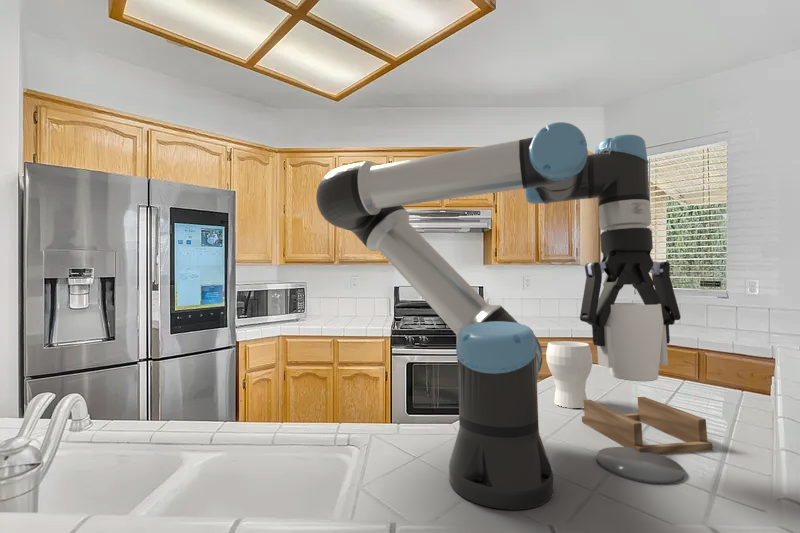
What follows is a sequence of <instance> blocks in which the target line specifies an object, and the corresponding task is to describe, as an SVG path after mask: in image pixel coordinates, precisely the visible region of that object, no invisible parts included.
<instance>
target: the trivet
mask: <svg viewBox="0 0 800 533" xmlns="http://www.w3.org/2000/svg"><path fill="white" fill-rule="evenodd" d="M596 461H597V463H598V465H599V466H600V467H601V468H603V469H604V470H605V471H607V472H610V473H611V474H613V475H615V476H618V477H621V478H624V479H627V480H630V481H633V482H634V481H635V482H638V483H644V484H651V485H671V484H676V483H678V482H681V481H682V480H683V479H684V478H685V470H684V468H683V466H682V465H680V464H679V462H677V461H675V460H673V459H672V458H669V457H667V456H665V455H664V454H657V453H654V452H651V451H643V452H639V451H637V450H635V449H634V448H629V447H624V446H610V447H605V448H602V449H600V450H597V452H596Z"/></svg>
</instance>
